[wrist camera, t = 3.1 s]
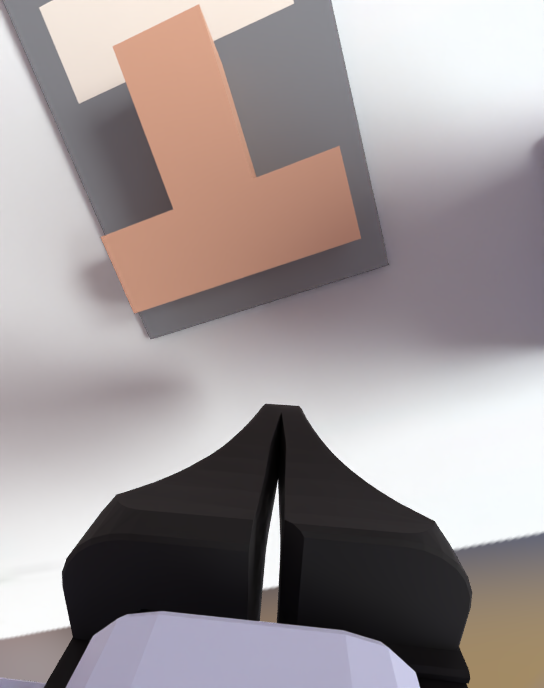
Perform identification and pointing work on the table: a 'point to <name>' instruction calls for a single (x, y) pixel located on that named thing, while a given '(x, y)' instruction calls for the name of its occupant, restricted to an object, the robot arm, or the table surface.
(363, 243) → the t mat
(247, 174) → the t block
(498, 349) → the table surface
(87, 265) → the table surface
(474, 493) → the table surface
